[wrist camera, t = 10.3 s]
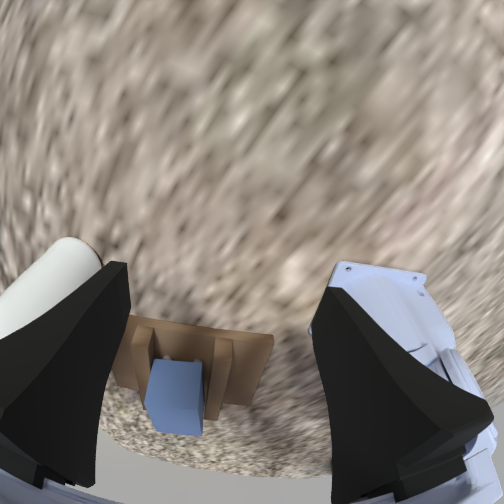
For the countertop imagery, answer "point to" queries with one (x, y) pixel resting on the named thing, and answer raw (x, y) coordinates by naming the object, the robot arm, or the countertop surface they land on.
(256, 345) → the shelf frame
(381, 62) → the countertop surface
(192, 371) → the shelf block
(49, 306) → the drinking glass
